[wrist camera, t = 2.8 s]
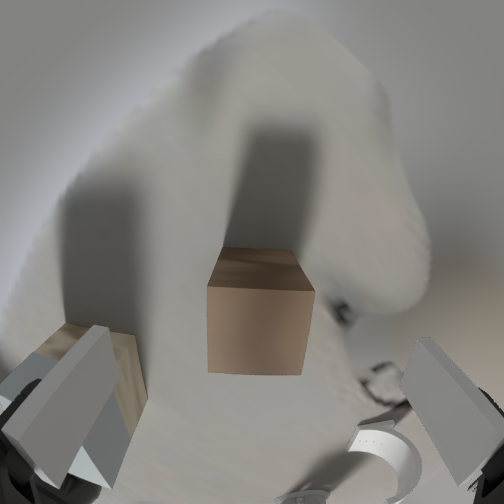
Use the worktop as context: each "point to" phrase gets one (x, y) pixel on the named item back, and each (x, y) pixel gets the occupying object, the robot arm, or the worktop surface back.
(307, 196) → the worktop surface
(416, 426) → the worktop surface
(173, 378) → the worktop surface
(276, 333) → the walnut block
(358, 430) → the white curved piece
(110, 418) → the grey block
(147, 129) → the worktop surface
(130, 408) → the beech block
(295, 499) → the french press
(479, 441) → the robot arm
